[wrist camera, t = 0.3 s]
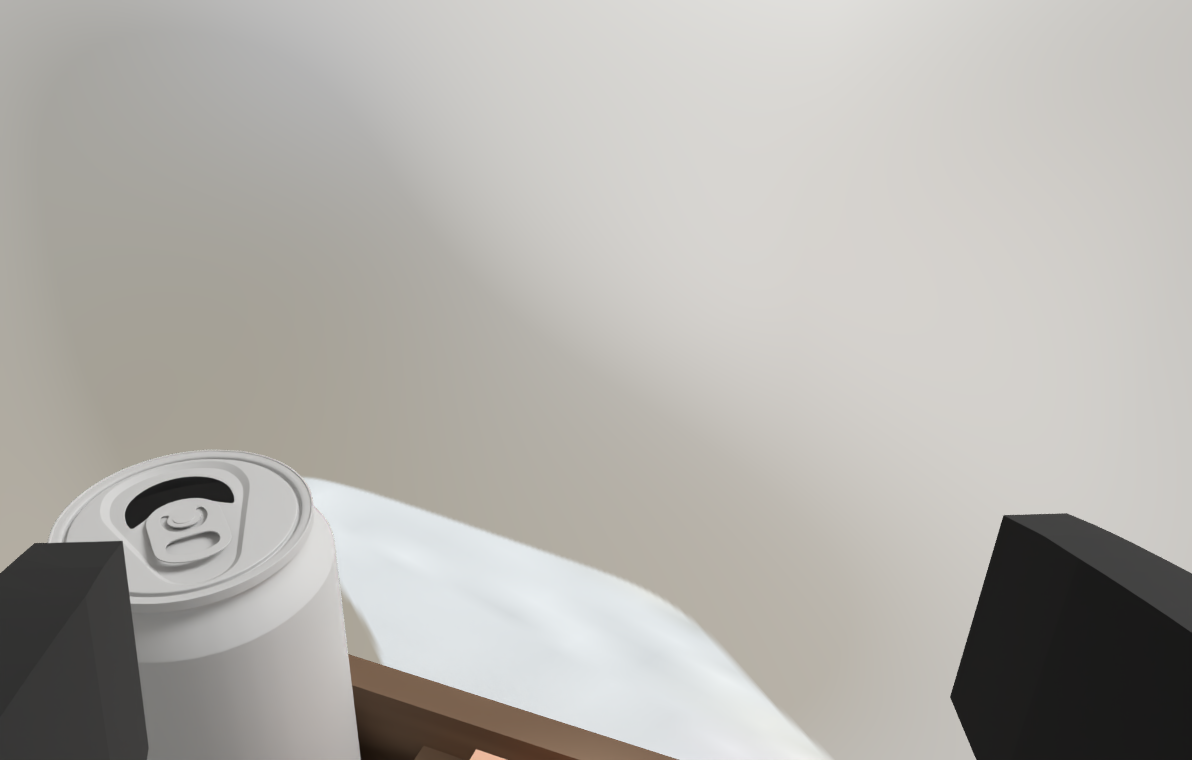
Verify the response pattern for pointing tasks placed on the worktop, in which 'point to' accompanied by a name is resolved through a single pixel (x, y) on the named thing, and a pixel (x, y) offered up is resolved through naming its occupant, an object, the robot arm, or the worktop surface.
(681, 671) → the worktop surface
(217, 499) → the beverage can
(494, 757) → the grey rod with ends
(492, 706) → the lane organiser
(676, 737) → the worktop surface
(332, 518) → the worktop surface
